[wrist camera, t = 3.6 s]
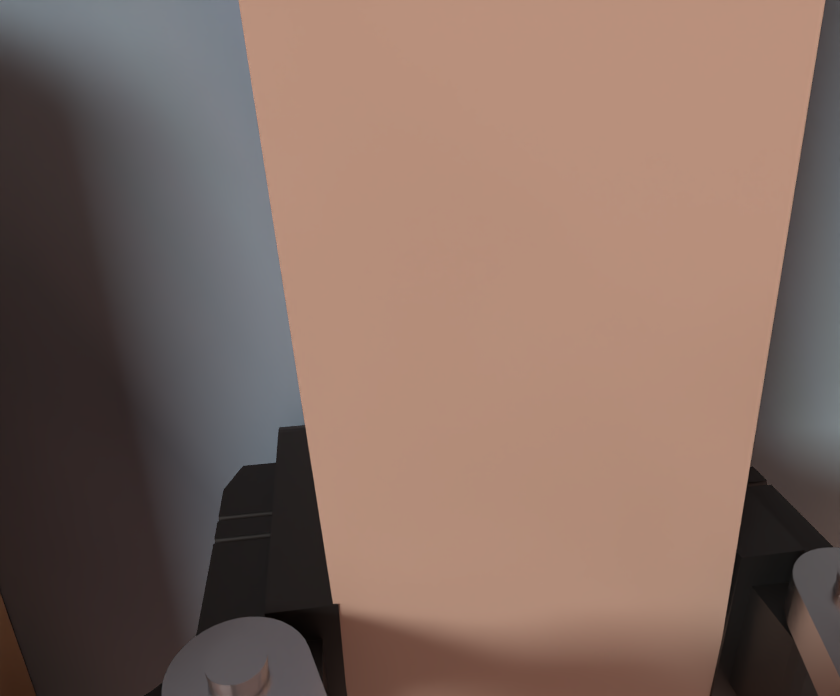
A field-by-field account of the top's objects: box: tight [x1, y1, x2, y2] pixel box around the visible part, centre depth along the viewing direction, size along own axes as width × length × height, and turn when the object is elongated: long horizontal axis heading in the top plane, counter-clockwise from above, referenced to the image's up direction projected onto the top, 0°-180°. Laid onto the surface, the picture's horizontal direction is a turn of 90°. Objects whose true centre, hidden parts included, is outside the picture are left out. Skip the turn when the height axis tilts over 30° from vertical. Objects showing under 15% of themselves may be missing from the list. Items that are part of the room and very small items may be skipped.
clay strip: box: [239, 0, 825, 696], centre depth 9 cm, size 18×4×4 cm, turn 4°
